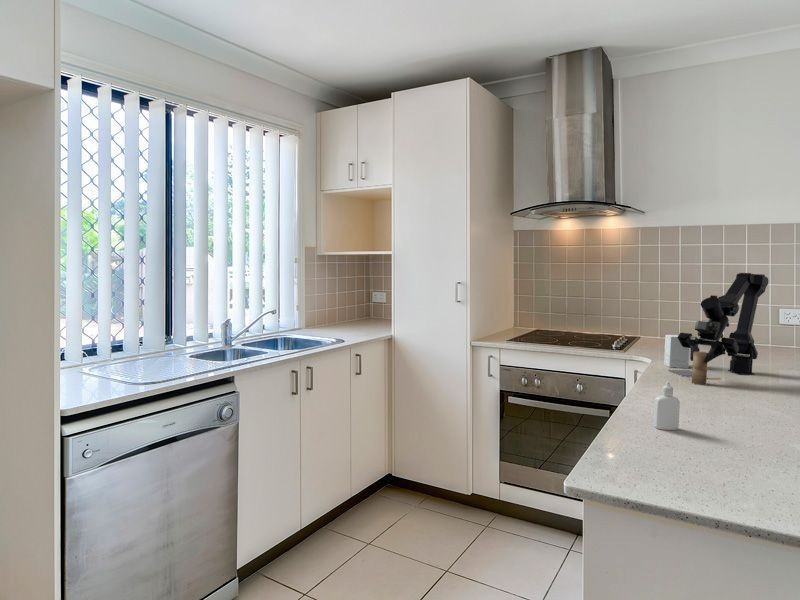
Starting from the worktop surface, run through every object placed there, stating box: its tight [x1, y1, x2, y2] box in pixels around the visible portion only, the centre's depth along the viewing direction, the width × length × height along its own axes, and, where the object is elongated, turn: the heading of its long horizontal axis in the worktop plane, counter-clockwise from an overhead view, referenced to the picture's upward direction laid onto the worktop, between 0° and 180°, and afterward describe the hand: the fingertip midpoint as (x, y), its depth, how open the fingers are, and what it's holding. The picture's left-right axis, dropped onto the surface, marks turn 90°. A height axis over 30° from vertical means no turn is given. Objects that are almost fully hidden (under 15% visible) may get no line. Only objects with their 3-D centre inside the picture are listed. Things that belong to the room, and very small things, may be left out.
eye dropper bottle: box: [653, 381, 680, 431], centre depth 132 cm, size 4×6×12 cm
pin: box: [691, 351, 708, 386], centre depth 183 cm, size 4×4×11 cm
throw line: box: [685, 377, 721, 380], centre depth 191 cm, size 12×1×1 cm, turn 90°
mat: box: [668, 369, 692, 377], centre depth 199 cm, size 8×10×1 cm
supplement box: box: [663, 334, 690, 369], centre depth 214 cm, size 7×7×13 cm
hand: (698, 361), depth 182 cm, fingers closed on pin, 4 cm apart
